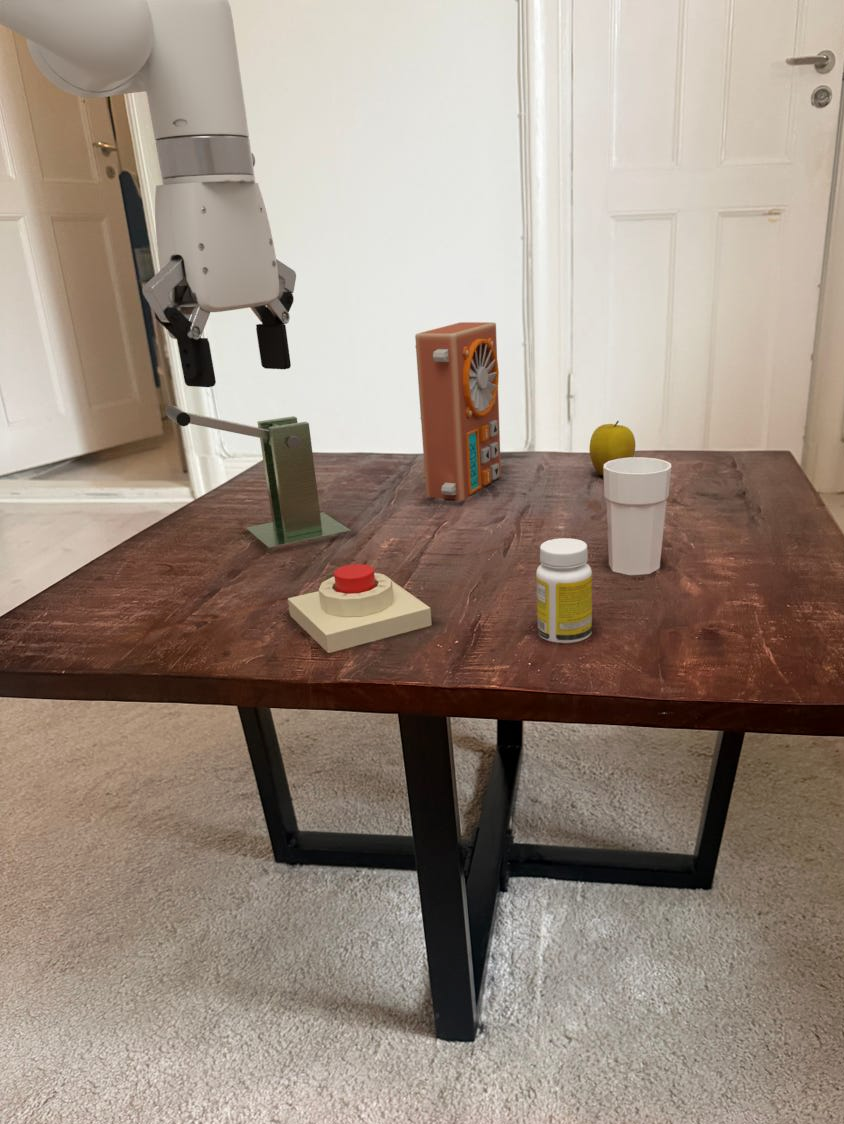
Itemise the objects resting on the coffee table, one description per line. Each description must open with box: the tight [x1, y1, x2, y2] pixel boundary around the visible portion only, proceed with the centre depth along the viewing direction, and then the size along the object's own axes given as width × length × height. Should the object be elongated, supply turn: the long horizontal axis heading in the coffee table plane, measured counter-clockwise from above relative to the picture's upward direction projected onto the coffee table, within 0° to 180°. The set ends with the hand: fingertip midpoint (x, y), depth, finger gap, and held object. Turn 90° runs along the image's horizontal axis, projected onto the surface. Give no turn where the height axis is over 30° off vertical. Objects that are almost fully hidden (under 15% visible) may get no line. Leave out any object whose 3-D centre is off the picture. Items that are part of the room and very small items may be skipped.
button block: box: [287, 572, 433, 654], centre depth 82 cm, size 10×10×4 cm
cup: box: [603, 456, 672, 576], centre depth 90 cm, size 7×7×11 cm
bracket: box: [245, 415, 351, 548], centre depth 104 cm, size 10×9×14 cm
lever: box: [165, 405, 280, 445], centre depth 99 cm, size 14×5×2 cm, turn 120°
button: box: [333, 563, 376, 594], centre depth 81 cm, size 4×4×2 cm
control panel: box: [414, 321, 502, 501], centre depth 116 cm, size 21×7×15 cm
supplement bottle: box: [535, 537, 593, 644], centre depth 77 cm, size 5×5×8 cm
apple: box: [589, 420, 636, 477], centre depth 124 cm, size 6×6×8 cm
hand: (240, 376), depth 82 cm, fingers open, 9 cm apart
